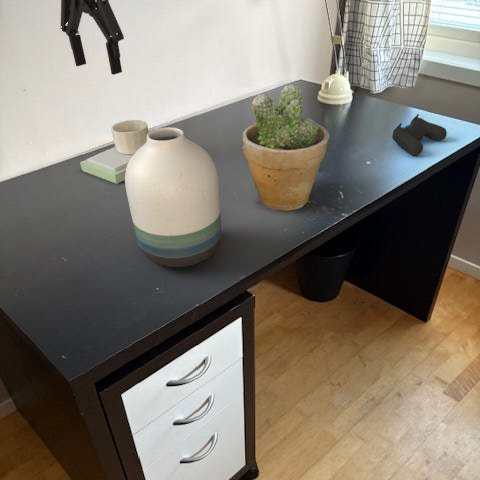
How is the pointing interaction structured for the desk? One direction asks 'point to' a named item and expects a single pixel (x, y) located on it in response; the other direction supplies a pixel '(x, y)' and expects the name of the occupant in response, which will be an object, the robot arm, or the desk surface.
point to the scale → (108, 165)
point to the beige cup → (129, 135)
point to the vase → (174, 199)
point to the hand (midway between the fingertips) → (98, 69)
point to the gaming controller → (417, 135)
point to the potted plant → (283, 150)
